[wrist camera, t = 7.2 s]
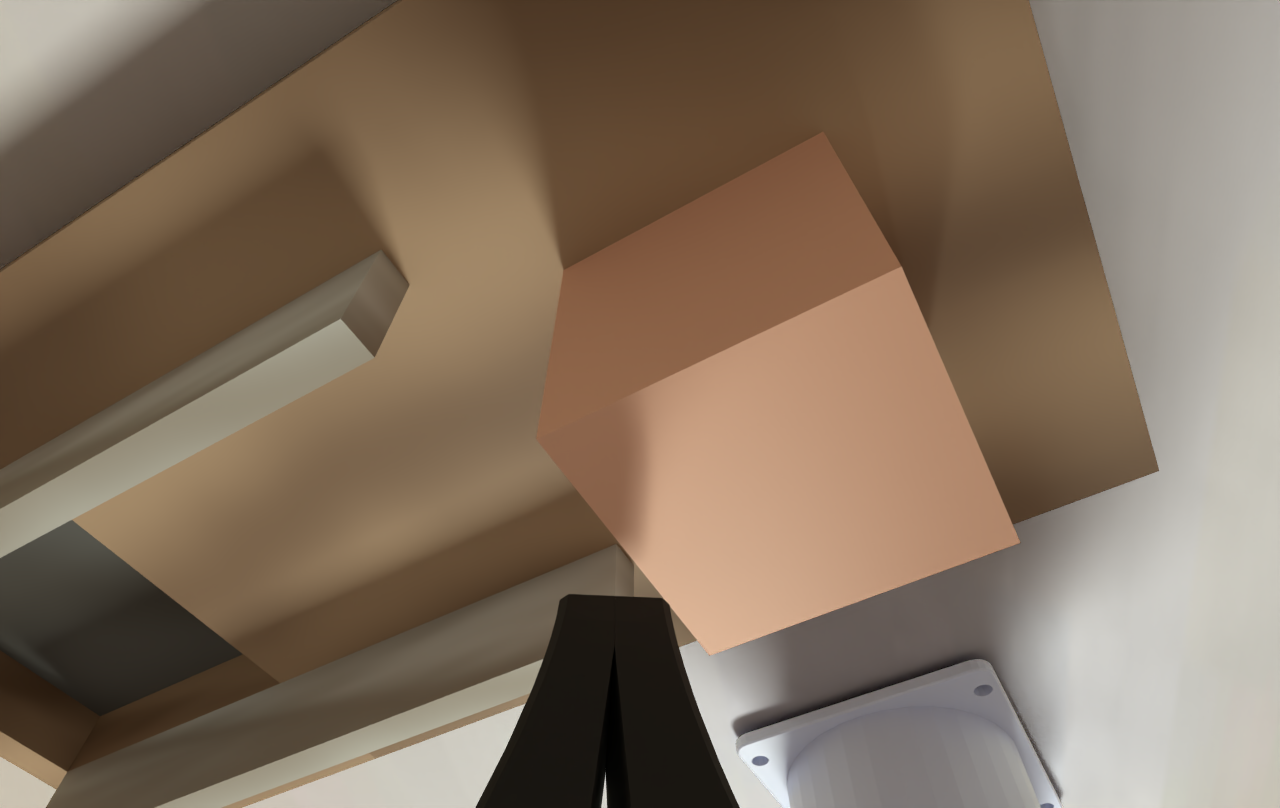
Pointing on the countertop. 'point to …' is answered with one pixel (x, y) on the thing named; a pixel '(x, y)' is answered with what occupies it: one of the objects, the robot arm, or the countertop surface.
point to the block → (765, 407)
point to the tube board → (465, 361)
